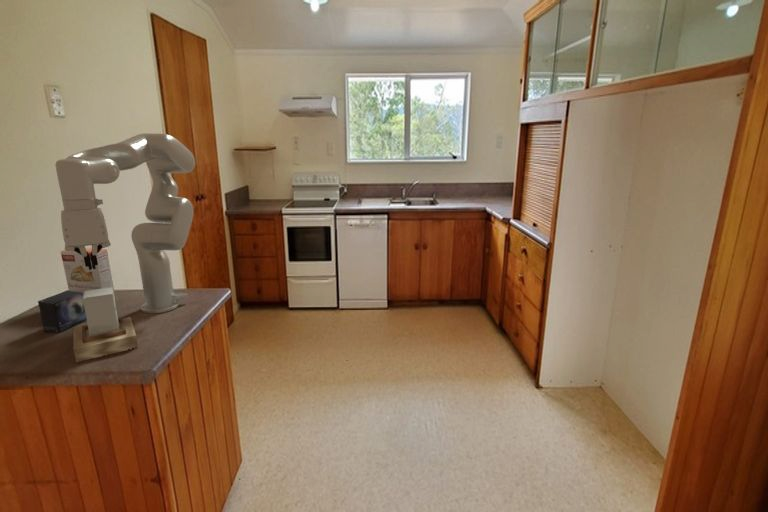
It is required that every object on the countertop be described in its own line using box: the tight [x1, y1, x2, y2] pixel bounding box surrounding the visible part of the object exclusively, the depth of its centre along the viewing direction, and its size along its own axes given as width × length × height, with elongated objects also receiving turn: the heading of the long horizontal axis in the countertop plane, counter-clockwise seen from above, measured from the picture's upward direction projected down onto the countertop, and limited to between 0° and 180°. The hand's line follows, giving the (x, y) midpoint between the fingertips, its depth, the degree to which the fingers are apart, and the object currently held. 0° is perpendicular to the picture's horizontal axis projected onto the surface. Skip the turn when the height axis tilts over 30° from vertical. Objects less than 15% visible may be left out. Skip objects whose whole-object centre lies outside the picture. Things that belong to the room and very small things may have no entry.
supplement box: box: [83, 286, 119, 337], centre depth 122 cm, size 7×7×13 cm
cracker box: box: [60, 247, 117, 302], centre depth 152 cm, size 14×6×21 cm, turn 82°
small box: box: [37, 289, 87, 334], centre depth 135 cm, size 11×6×10 cm, turn 168°
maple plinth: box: [72, 316, 139, 363], centre depth 124 cm, size 15×16×5 cm
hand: (92, 268), depth 118 cm, fingers closed
